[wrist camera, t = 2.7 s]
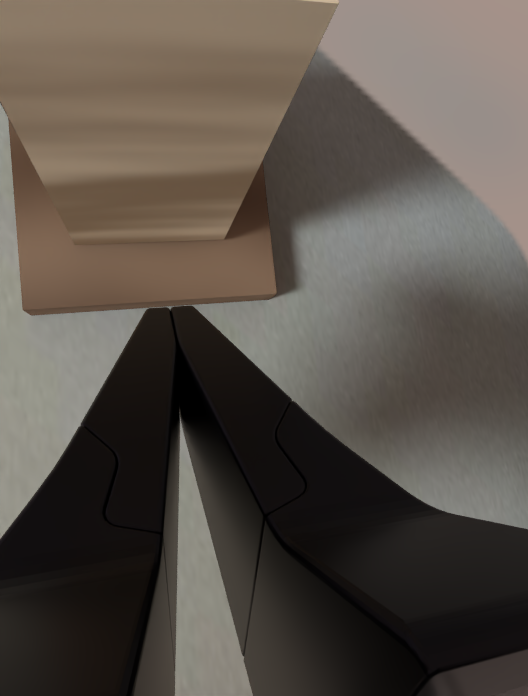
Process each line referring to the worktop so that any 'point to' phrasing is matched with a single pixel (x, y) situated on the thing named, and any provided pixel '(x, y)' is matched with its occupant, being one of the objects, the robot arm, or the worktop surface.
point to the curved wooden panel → (152, 105)
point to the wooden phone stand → (135, 257)
